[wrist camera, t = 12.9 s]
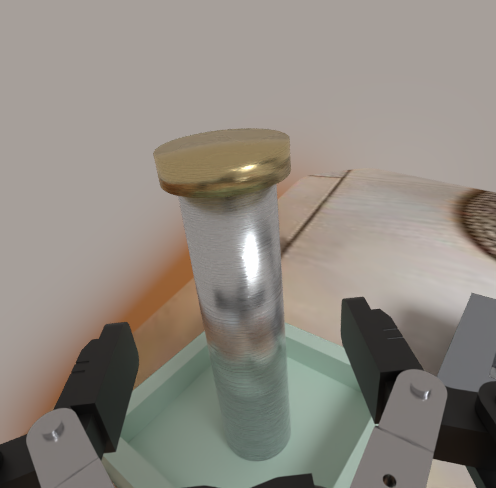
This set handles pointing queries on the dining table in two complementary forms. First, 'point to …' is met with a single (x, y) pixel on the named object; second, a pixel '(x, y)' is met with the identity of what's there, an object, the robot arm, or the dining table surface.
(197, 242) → the steel pin
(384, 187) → the dining table surface
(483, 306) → the socket block
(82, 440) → the robot arm
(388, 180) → the dining table surface
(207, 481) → the tray
